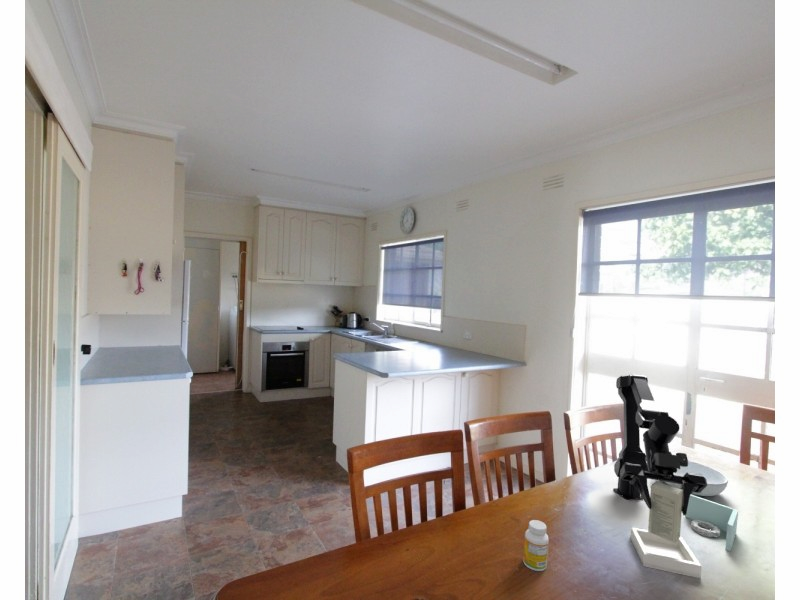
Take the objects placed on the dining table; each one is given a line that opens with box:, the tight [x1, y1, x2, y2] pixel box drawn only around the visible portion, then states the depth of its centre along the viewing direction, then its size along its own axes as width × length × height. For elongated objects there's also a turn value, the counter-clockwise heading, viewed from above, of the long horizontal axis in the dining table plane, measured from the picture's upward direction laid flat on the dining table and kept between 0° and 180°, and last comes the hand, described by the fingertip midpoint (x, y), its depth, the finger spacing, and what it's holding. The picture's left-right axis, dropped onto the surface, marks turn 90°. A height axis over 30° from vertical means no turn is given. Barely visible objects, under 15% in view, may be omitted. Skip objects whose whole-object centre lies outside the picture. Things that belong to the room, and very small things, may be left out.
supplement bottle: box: [522, 519, 550, 572], centre depth 99 cm, size 5×5×10 cm
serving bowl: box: [663, 460, 729, 497], centre depth 144 cm, size 21×21×7 cm
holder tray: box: [629, 527, 703, 579], centre depth 105 cm, size 12×12×3 cm
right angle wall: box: [685, 494, 739, 552], centre depth 118 cm, size 12×12×8 cm
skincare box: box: [648, 480, 683, 543], centre depth 105 cm, size 6×4×12 cm
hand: (667, 511), depth 104 cm, fingers closed on skincare box, 7 cm apart
